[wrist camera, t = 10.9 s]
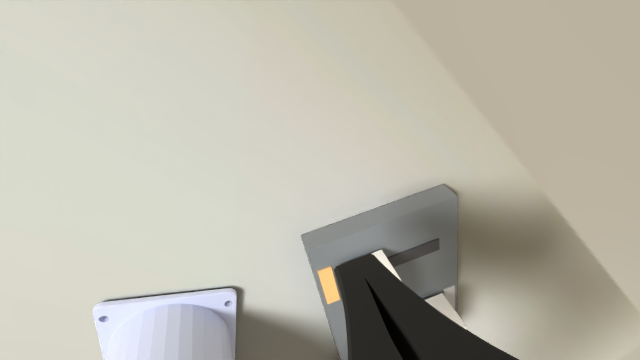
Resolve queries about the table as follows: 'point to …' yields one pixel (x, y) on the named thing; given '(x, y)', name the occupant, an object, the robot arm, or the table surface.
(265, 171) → the table surface
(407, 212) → the switch panel
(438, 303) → the tab
